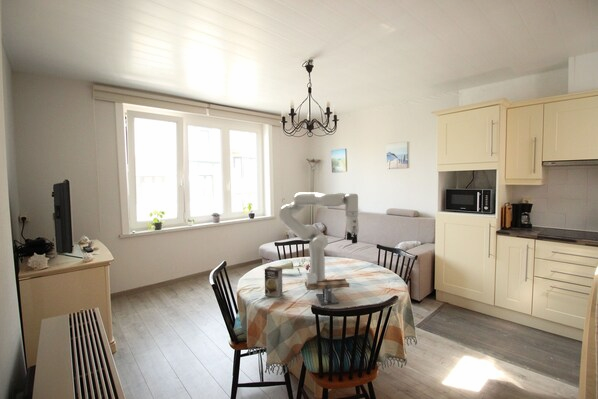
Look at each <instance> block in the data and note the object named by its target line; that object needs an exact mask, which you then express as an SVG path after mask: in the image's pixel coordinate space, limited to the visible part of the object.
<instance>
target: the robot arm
mask: <svg viewBox="0 0 598 399" xmlns="http://www.w3.org/2000/svg"><path fill="white" fill-rule="evenodd" d="M343 205H345V217H346V220H345V221H346V223H345V224H346V225H345V228H346V229H345V230H346V241H351V243H352V244H353V245H354V244H358V234H359V231H360V230H359V218H358V217H359V196H358V194H357V193H343V192H342V193H341V192H340V193H339V192H338V193H321V192H307V191H302V192H297V193H295V195H294V196H293V201H292V202H291V203H288V204H284V205H283V206H281V208H280V209H279V219H280V221H281V223H282V225H284V226H285V227H286V228H287V230H290V231H291V232H292V233H293V234H294V235H295V236H297V238H299V239H300V240H301V241H304V242H307V241H309V243H308V252H309V260H310V262H309V266H310V267H309V270H310V272H309V273H315V274H316V275H317V281H321V280H323V279H325V277H326V275H325V274H326V271H325V270H326V269H325V267H326V266H325V265H326V263H325V262H326V260H325V259H326V258H325V252H324V251H325V248H326V247H327V246H328V244H329V240H328V237H327V236H326V235H325V234H324V233H323V232H321V231H320V230H319V229H318V228H316V226H314V225H312V224H303V223H302V222H301V221H300V219H299V220H298V218H296V217H295V216H297V215H298V214H299V213H300V212H301V211H302V210H303V209H305V207H306V206H310V207H311V206H312V207H340V206H343ZM304 278H305V281H306V276H305V277H304Z"/></svg>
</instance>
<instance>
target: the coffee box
mask: <svg viewBox="0 0 598 399" xmlns="http://www.w3.org/2000/svg"><path fill="white" fill-rule="evenodd" d="M281 294H283V270H282V268H278V267H270V266H266V268H264V296H266V295H267V297H273V296H274V298H279V297H280V296H282V295H281Z"/></svg>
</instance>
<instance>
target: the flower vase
mask: <svg viewBox="0 0 598 399" xmlns="http://www.w3.org/2000/svg"><path fill="white" fill-rule="evenodd" d="M303 259H304V260H303V261H302V263H301V262H299V264H298V265H296V266H294V263H293V261H288V262H286V263H284V264H279V265H272V266H270V267H278V268H282V271H283V270H294V268H296V269H297V271H298V274H300V275H302V272H301V271H300V268H304V267H305V270H306V271H309V272H308V273H310V259H309V262H308V264H304V262H305V259H306V258H303Z"/></svg>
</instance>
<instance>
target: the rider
mask: <svg viewBox="0 0 598 399" xmlns="http://www.w3.org/2000/svg"><path fill="white" fill-rule="evenodd" d="M305 274H306V275H305V277H306V280H305V282H306V284H307V285H308V286H314V285H317V275H316V274H315V273H310V272H306V273H305Z"/></svg>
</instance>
